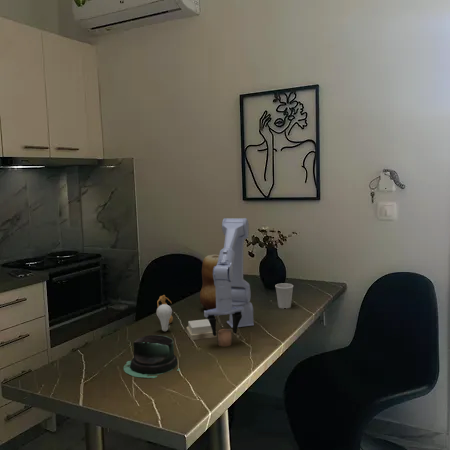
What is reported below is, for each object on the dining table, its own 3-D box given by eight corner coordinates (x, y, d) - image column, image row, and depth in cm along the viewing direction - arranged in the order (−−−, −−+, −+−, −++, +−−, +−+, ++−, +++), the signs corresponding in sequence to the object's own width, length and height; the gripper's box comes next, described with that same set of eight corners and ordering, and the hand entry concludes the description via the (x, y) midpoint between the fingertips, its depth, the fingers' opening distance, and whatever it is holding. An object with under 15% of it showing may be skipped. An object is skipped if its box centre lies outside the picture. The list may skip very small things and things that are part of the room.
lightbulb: (175, 329, 190) (174, 302, 189) (168, 334, 184) (167, 307, 183) (161, 328, 192) (160, 301, 191) (154, 333, 186) (153, 306, 185)
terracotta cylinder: (229, 341, 176) (229, 328, 175) (233, 345, 172) (232, 332, 171) (217, 342, 175) (216, 329, 174) (220, 347, 170) (219, 333, 170)
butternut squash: (220, 315, 206) (218, 259, 203) (194, 311, 213) (192, 257, 209) (235, 307, 218) (234, 253, 215) (210, 303, 225) (209, 251, 221)
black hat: (189, 354, 165) (188, 329, 164) (176, 380, 145) (174, 351, 144) (135, 353, 168) (133, 327, 167) (114, 377, 148) (112, 349, 147)
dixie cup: (294, 309, 212) (294, 287, 211) (276, 309, 213) (275, 287, 211) (292, 303, 221) (292, 282, 219) (274, 304, 221) (274, 283, 220)
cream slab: (208, 325, 189) (208, 319, 188) (212, 331, 181) (212, 325, 181) (188, 327, 187) (188, 321, 186) (192, 334, 179) (191, 327, 179)
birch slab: (210, 329, 190) (210, 323, 190) (217, 338, 181) (216, 332, 180) (186, 332, 188) (186, 326, 187) (191, 341, 178) (191, 335, 178)
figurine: (165, 327, 193) (163, 298, 192) (154, 324, 197) (152, 296, 195) (178, 321, 200) (177, 293, 199) (167, 318, 204) (166, 291, 202)
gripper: (206, 302, 165) (207, 339, 167) (246, 298, 169) (246, 335, 171) (202, 297, 172) (203, 333, 174) (240, 293, 176) (241, 328, 177)
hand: (224, 333), depth 173 cm, fingers open, 7 cm apart
